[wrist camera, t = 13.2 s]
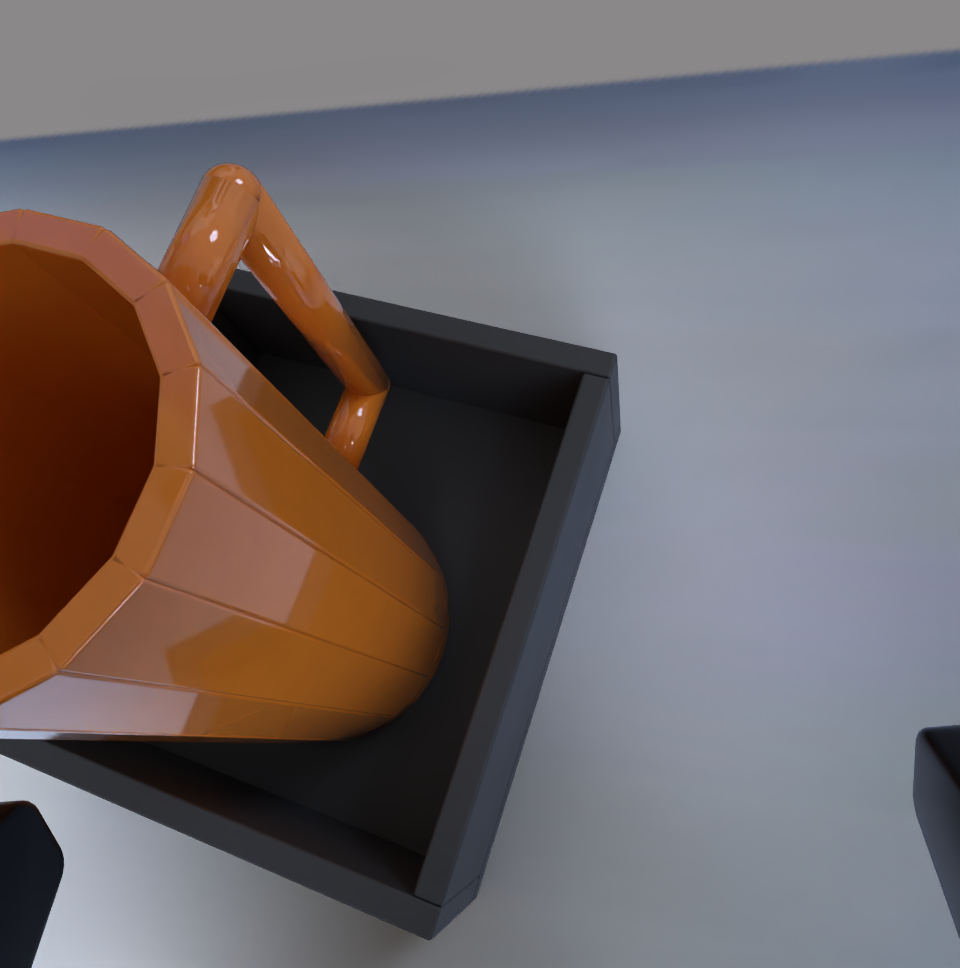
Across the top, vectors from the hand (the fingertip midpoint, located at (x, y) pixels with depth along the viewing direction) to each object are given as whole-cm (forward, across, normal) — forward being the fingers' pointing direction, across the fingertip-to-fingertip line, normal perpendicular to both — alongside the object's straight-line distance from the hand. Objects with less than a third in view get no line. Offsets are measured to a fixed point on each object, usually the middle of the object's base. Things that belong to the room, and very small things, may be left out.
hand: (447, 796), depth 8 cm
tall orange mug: (+12, +5, +5) cm, 14 cm away
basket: (+12, +5, +5) cm, 14 cm away
